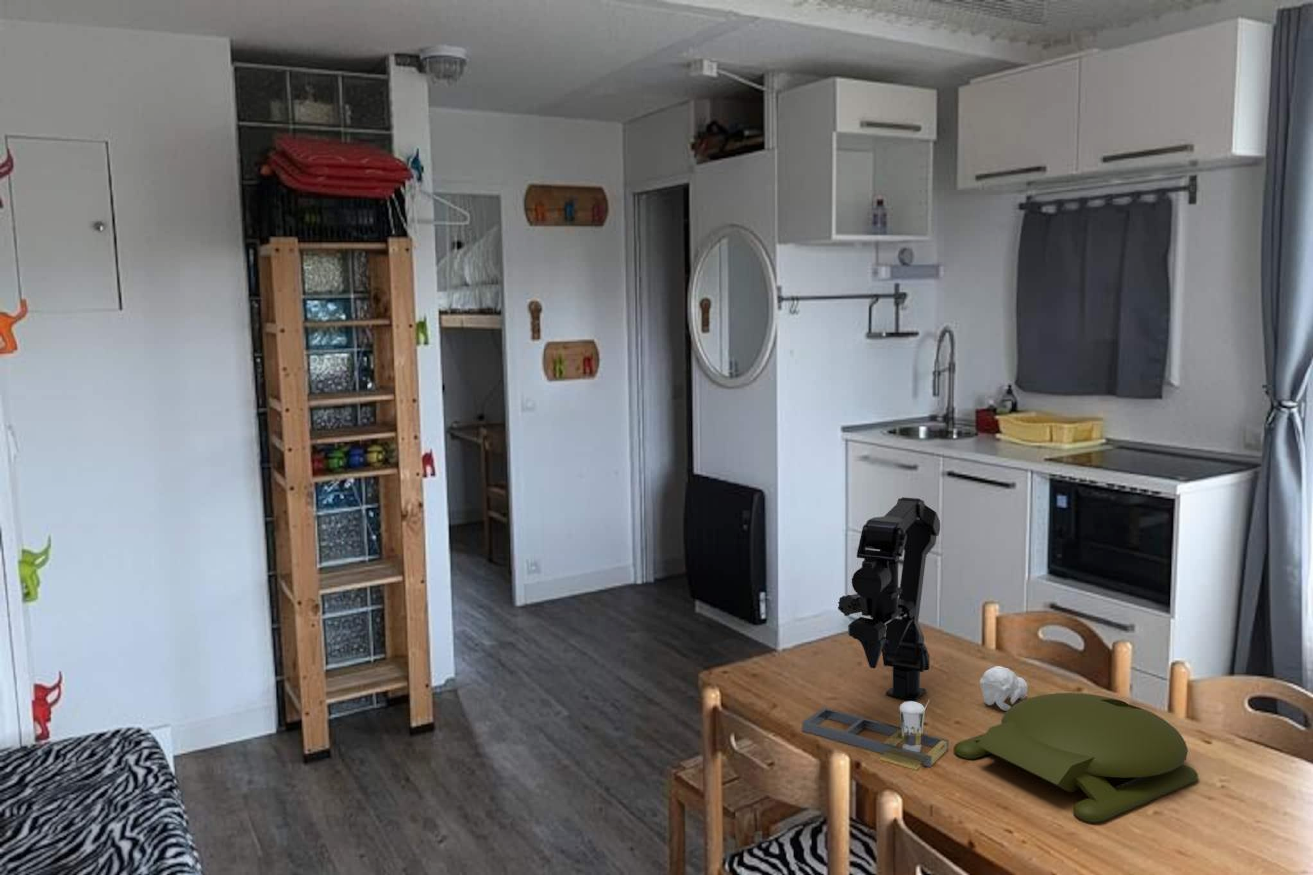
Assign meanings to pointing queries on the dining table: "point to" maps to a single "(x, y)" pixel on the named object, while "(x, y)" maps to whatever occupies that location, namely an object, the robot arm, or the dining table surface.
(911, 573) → the robot arm
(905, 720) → the milkshake
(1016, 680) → the white bear figurine
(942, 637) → the dining table surface
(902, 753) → the rail
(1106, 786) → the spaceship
